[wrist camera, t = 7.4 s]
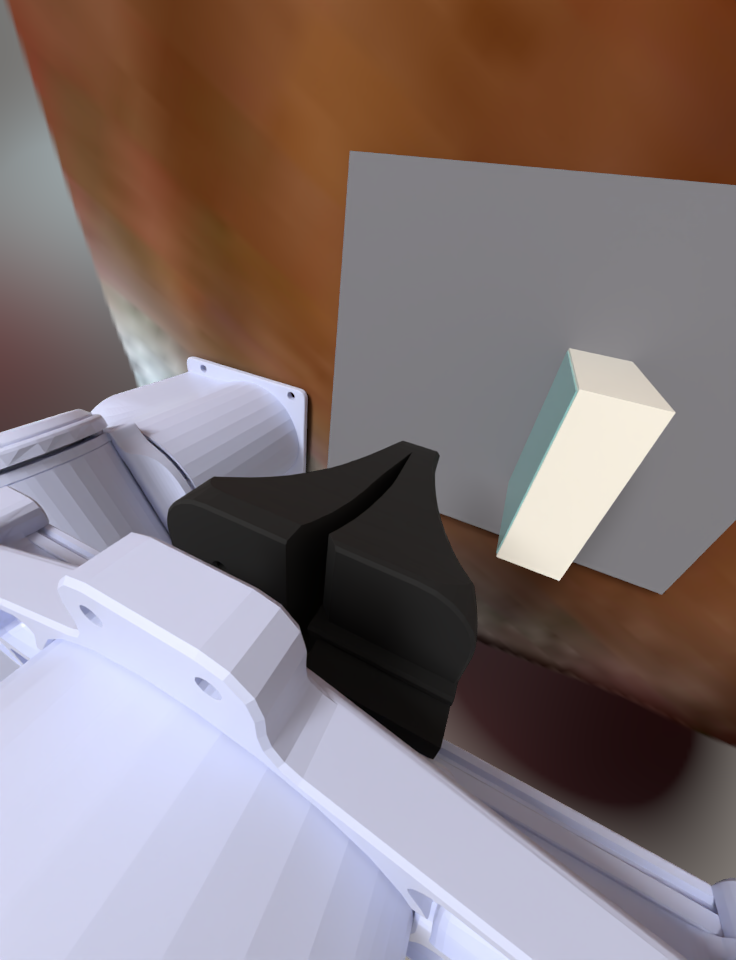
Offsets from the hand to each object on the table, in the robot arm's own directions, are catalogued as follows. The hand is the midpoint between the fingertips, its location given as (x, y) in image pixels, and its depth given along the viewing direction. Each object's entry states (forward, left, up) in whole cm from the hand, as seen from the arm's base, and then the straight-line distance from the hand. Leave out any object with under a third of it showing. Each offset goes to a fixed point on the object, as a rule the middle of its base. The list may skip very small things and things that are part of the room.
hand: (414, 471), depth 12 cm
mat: (+3, +1, -8) cm, 9 cm away
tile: (+5, 0, -7) cm, 9 cm away
